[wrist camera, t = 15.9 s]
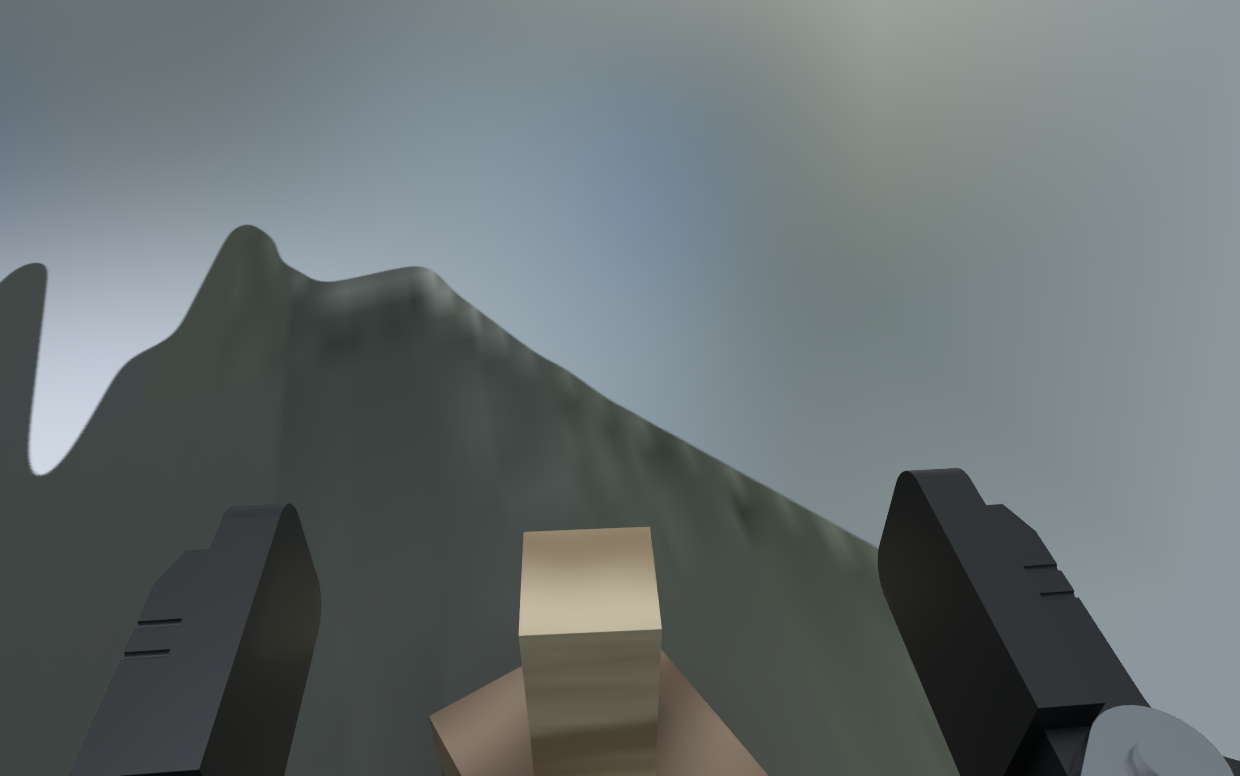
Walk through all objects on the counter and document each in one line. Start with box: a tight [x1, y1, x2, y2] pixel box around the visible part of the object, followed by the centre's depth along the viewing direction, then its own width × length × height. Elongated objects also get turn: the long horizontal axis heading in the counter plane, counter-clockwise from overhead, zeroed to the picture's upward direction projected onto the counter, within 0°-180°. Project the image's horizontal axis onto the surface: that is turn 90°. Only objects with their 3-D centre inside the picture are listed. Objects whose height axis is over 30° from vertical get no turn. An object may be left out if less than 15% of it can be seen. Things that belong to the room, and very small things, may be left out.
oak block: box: [519, 527, 662, 776], centre depth 32 cm, size 4×4×10 cm
